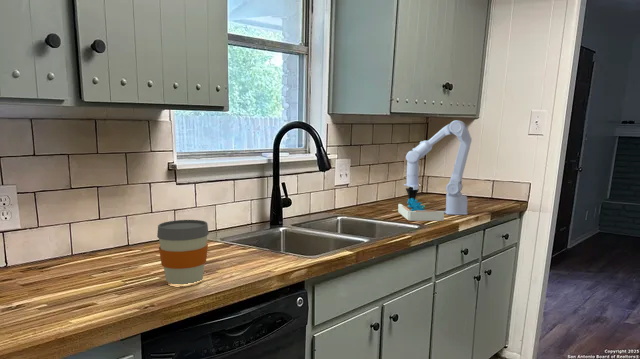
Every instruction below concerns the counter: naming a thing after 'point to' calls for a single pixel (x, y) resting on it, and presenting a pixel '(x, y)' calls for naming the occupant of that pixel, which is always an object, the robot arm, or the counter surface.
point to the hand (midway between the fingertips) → (411, 202)
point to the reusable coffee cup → (183, 250)
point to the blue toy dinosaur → (415, 205)
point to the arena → (420, 214)
